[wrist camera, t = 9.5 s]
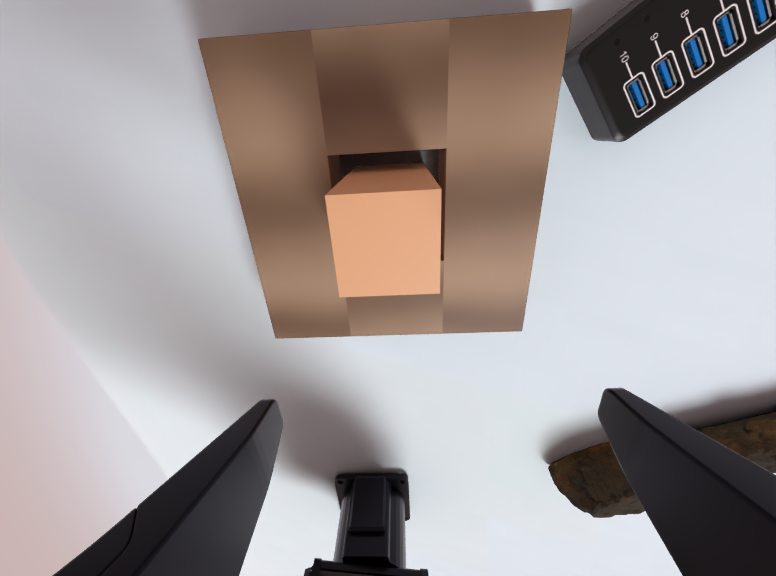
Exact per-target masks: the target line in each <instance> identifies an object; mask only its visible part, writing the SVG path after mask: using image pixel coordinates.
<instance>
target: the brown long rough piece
mask: <svg viewBox="0 0 776 576" xmlns="http://www.w3.org/2000/svg"><path fill="white" fill-rule="evenodd" d="M697 431H699V432H701V433H703V434H704V435H706V436H708V437H710V438H711V439H713V440H715V441H717V442H718V443H720V444H722V445H724V446H725V447H727V448H729V449H731V450H732V451H734V452H736V453H738V454H739V455H741V456H743V457H745V458H746V459H748V460H750V461H752V462H754V463H755V464H757V465H759V466H761V467H762V468H764V469H766V470H768V471H769V472H771V473H776V412H773V413H768V414H763V415H760V416H756V417H751V418H748V419H744V420H739V421H735V422H731V423H727V424H722V425H717V426H713V427H705V428H702V429H699V430H697ZM548 469H549V472H550V474H551V477H552V479H553V481H554V484H555V485H556V486H557V488H558V490H559V491H560V492H561V493H562V494H563V495H565V496H566V497H567V498H568V499H569V501H570V502H571V503H572V504H573V505H574V506H575V507H577V508H578V509H580V510H582V511H583V512H587V513H590V514H591V515H592V516H593V517H597V518H606V517H612V516H614V515H627V514H640V513H642V512H644V511H645V510H644V508H643V506H642V504H641V503H640V501H639V499H638V497H637V496H636V494H635V492H634V491H633V489H632V487H631V485H630V483H629V482H628V480H627V478H626V476H625V474H624V472H623V470H622V468H621V466H620V464H619V461H618V459H617V457H616V455H615V453H614V451H613V448H612V446H611V444H610V442H606V443H603V444H599V445H596V446H592V447H589V448H587V449H584V450H581V451H578V452H576V453H573V454H571V455H569V456H567V457H564V458H562V459H560V460H559V461H557V462H554V463H552V464H551V465H550V466H549V467H548Z"/></svg>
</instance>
